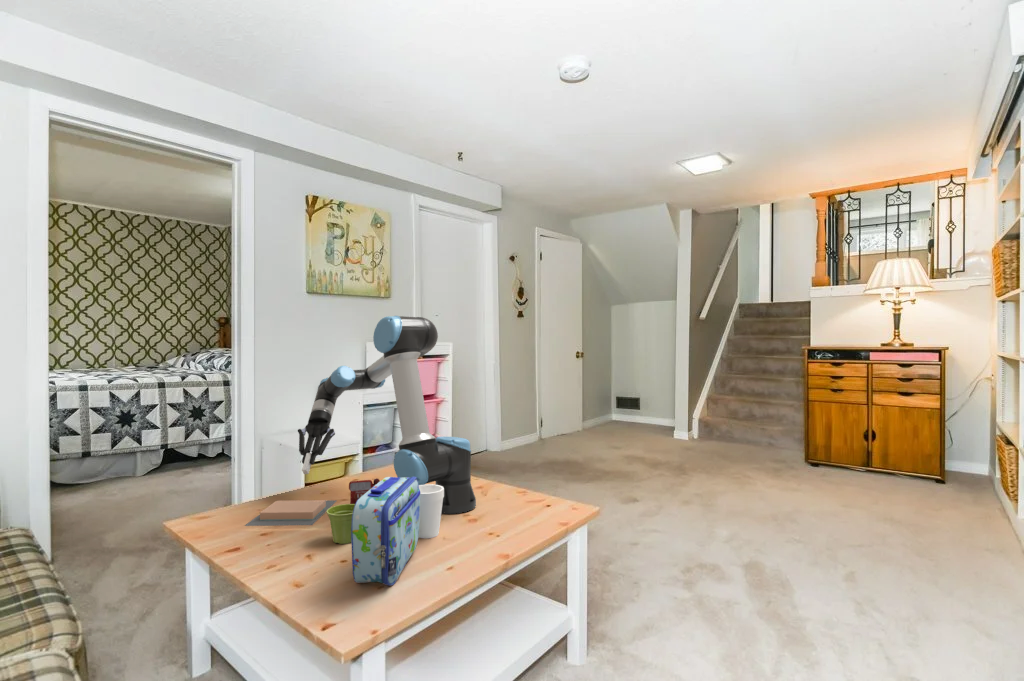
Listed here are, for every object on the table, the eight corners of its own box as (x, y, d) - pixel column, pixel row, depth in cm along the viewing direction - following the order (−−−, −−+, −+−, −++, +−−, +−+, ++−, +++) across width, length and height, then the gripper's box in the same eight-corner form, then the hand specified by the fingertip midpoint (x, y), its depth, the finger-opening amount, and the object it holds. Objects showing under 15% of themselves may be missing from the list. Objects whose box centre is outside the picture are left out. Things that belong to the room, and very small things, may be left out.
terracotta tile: (276, 500, 172) (259, 512, 160) (325, 500, 173) (312, 512, 161) (276, 507, 172) (259, 520, 160) (325, 507, 173) (312, 520, 161)
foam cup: (450, 531, 153) (450, 486, 153) (432, 542, 144) (432, 495, 144) (423, 526, 157) (422, 482, 157) (404, 537, 148) (403, 491, 148)
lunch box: (392, 594, 115) (392, 498, 115) (345, 592, 116) (345, 497, 116) (424, 547, 141) (424, 469, 141) (385, 546, 142) (385, 468, 142)
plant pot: (329, 549, 140) (329, 516, 140) (324, 537, 148) (324, 506, 148) (365, 543, 144) (365, 511, 144) (358, 531, 152) (358, 502, 152)
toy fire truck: (389, 512, 169) (389, 480, 169) (349, 517, 165) (349, 484, 165) (387, 506, 176) (387, 475, 176) (348, 510, 172) (348, 478, 172)
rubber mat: (278, 502, 180) (278, 500, 180) (337, 502, 180) (337, 500, 180) (244, 527, 156) (244, 525, 156) (312, 527, 156) (312, 525, 156)
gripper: (341, 421, 196) (327, 477, 179) (306, 421, 195) (288, 478, 178) (337, 408, 190) (322, 465, 174) (300, 408, 190) (282, 466, 173)
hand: (305, 471), depth 176 cm, fingers closed
